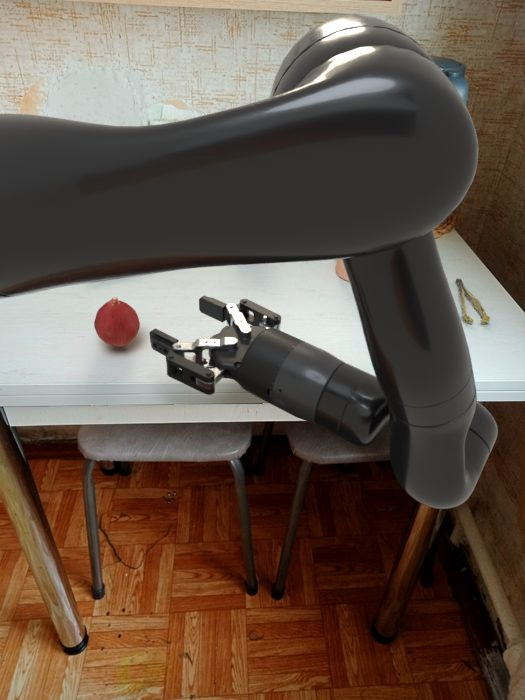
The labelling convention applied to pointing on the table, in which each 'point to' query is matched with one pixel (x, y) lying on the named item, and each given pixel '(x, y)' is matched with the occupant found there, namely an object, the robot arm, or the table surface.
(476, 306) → the tongs
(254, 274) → the table surface
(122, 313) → the onion
